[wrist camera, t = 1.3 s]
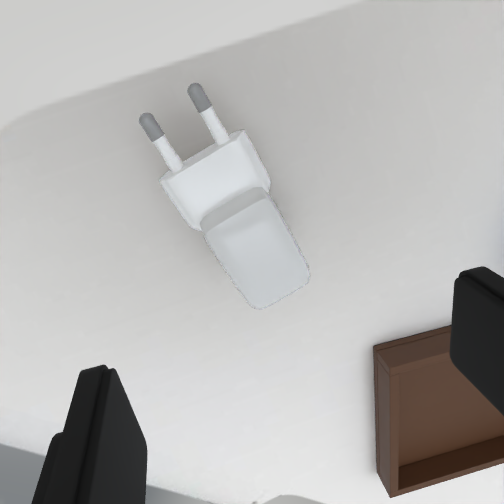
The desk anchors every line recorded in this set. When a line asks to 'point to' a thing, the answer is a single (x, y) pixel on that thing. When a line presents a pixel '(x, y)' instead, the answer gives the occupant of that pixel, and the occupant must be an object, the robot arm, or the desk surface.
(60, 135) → the desk surface
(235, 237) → the power adapter
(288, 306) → the desk surface
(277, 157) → the desk surface
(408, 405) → the tray
